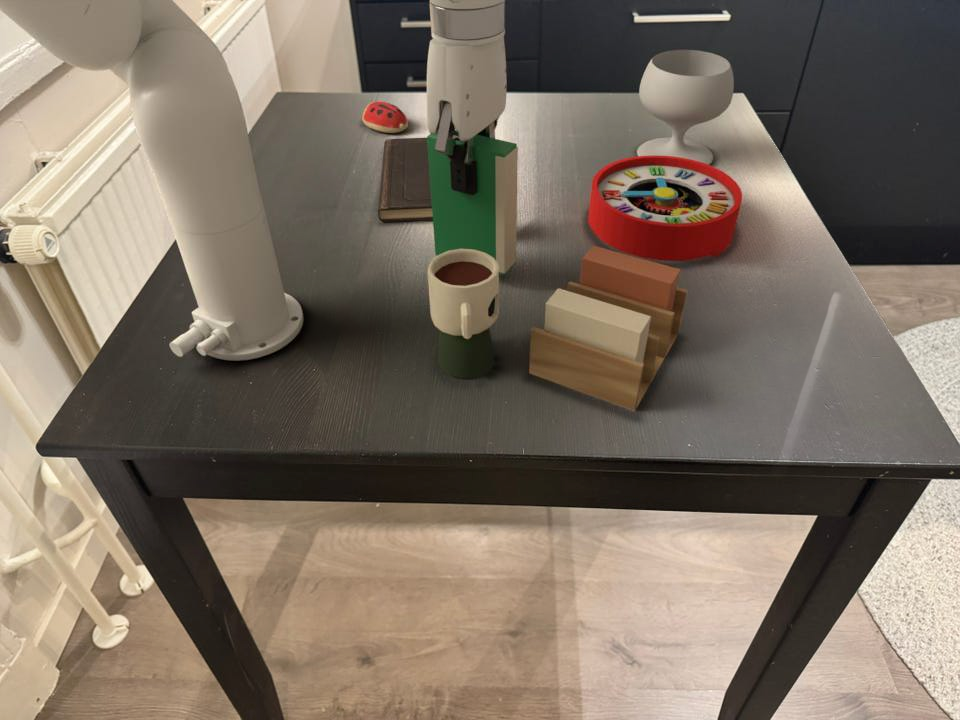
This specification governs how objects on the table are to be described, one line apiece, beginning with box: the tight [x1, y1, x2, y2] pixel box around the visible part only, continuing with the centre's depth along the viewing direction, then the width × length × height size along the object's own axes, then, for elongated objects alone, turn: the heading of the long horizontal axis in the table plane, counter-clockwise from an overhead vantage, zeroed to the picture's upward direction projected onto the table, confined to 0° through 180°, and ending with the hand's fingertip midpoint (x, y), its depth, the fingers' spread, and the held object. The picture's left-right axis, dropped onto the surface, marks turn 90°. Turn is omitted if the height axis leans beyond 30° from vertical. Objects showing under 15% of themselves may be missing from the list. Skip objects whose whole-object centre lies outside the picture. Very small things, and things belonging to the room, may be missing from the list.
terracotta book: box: [579, 245, 681, 312], centre depth 81 cm, size 3×10×9 cm, turn 61°
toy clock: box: [587, 155, 743, 262], centre depth 100 cm, size 20×6×20 cm
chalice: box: [636, 49, 735, 165], centre depth 113 cm, size 14×14×15 cm
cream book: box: [543, 287, 651, 363], centre depth 75 cm, size 3×10×9 cm, turn 60°
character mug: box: [427, 249, 500, 380], centre depth 76 cm, size 11×7×13 cm, turn 4°
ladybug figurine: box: [361, 101, 409, 134], centre depth 128 cm, size 7×10×4 cm
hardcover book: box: [377, 137, 433, 223], centre depth 112 cm, size 16×23×2 cm
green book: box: [426, 129, 519, 277], centre depth 87 cm, size 3×10×16 cm, turn 61°
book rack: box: [528, 281, 689, 412], centre depth 79 cm, size 14×12×7 cm
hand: (472, 183), depth 85 cm, fingers closed on green book, 3 cm apart
